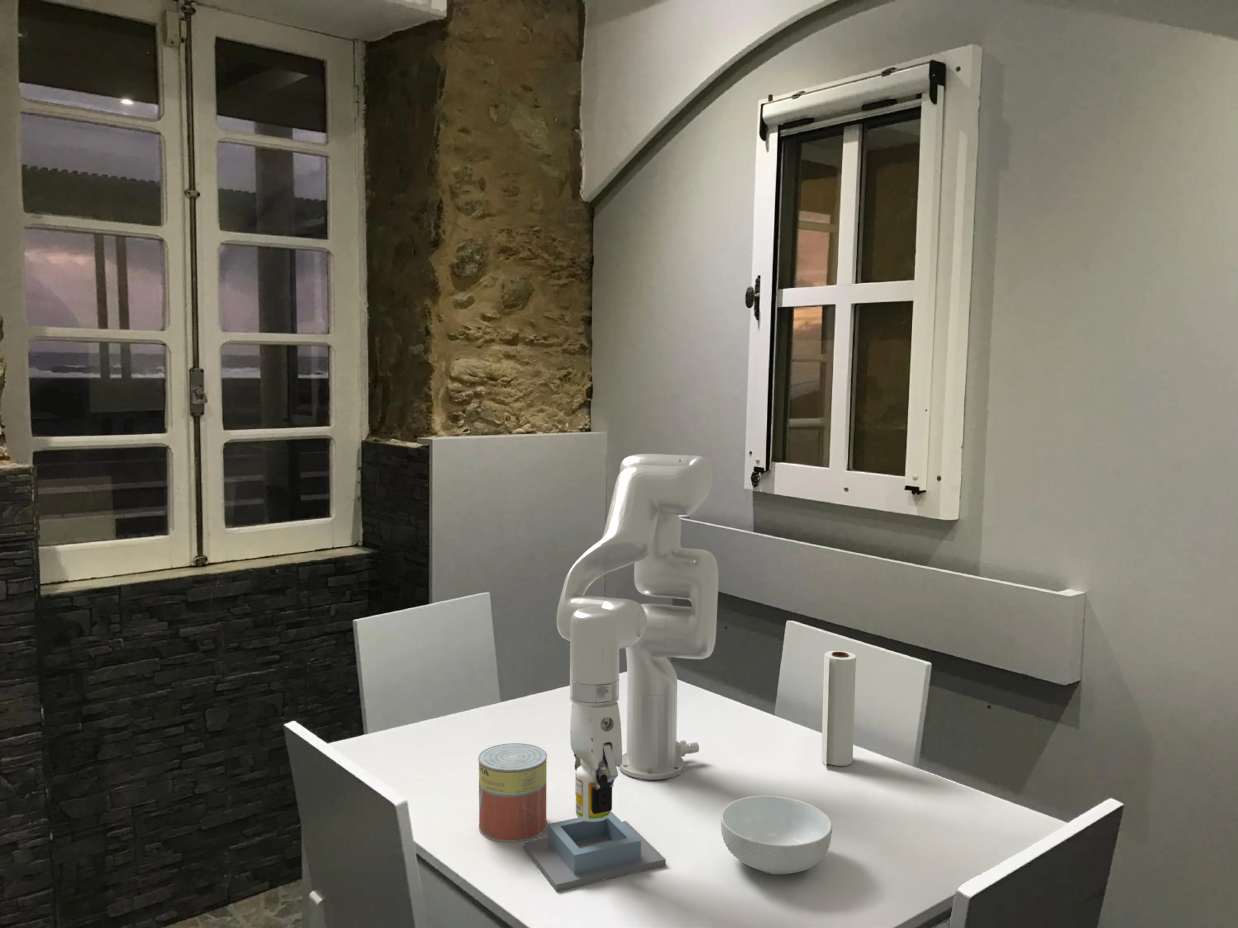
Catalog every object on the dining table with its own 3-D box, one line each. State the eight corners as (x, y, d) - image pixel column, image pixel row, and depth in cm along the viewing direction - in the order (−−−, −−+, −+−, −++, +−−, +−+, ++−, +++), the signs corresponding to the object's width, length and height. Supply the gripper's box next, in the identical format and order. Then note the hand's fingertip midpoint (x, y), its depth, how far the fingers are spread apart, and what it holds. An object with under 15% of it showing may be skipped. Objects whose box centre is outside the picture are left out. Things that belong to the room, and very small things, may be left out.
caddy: (625, 826, 161) (626, 803, 160) (665, 865, 148) (665, 840, 148) (523, 848, 153) (523, 823, 153) (556, 890, 141) (556, 864, 140)
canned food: (484, 809, 167) (484, 742, 165) (550, 811, 166) (550, 743, 165) (473, 841, 155) (472, 769, 154) (543, 842, 155) (543, 770, 154)
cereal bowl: (756, 900, 139) (757, 853, 138) (701, 848, 154) (701, 805, 153) (853, 876, 145) (855, 831, 145) (791, 828, 161) (792, 787, 160)
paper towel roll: (842, 753, 193) (845, 648, 191) (858, 764, 187) (862, 656, 185) (810, 757, 191) (813, 651, 189) (826, 769, 185) (829, 660, 183)
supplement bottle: (616, 811, 151) (616, 750, 150) (601, 825, 146) (601, 763, 145) (585, 804, 153) (585, 745, 153) (569, 818, 149) (569, 757, 148)
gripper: (641, 702, 142) (639, 822, 144) (594, 671, 158) (593, 778, 159) (594, 709, 139) (593, 831, 140) (551, 676, 154) (550, 786, 156)
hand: (593, 802), depth 150 cm, fingers closed on supplement bottle, 5 cm apart
